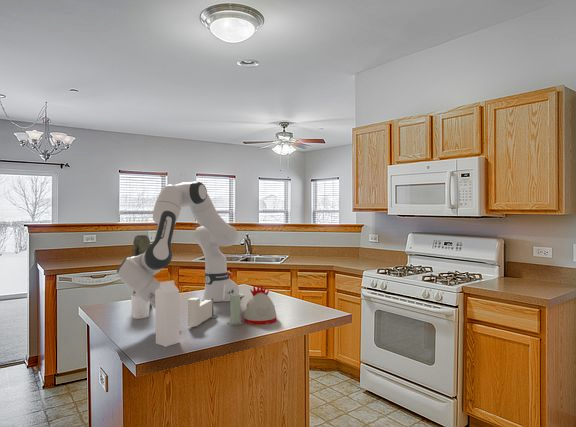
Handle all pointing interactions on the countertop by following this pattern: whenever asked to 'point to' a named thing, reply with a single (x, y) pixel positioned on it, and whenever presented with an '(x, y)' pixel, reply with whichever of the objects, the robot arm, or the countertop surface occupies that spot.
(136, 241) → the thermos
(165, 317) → the milk
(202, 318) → the cream l-shaped block
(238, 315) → the latch post
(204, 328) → the countertop surface
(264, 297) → the kitchen timer
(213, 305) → the hinge post
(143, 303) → the white cup
